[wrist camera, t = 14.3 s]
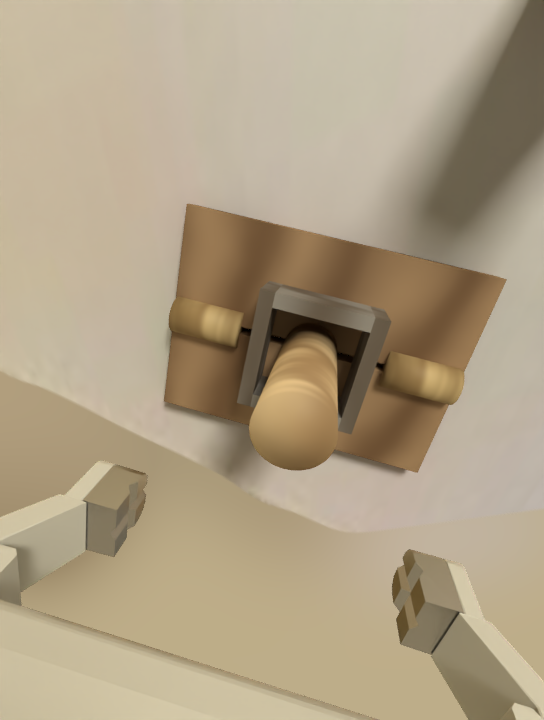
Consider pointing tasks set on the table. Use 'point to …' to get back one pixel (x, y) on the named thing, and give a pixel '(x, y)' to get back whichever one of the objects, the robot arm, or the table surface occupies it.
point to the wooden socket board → (336, 313)
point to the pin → (299, 402)
